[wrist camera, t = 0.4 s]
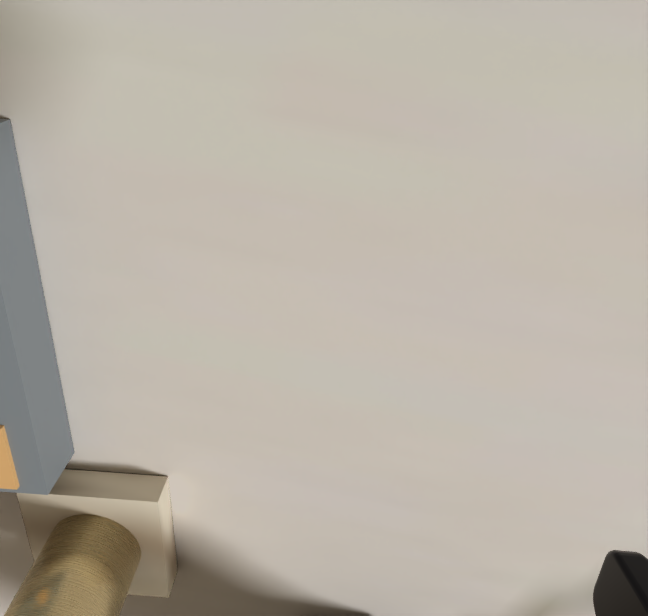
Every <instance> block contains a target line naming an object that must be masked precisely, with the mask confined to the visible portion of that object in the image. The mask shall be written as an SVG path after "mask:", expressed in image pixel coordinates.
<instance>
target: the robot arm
mask: <svg viewBox="0 0 648 616" xmlns="http://www.w3.org/2000/svg"><path fill="white" fill-rule="evenodd" d="M593 603H594V609H595V614H596V616H648V559H647V558H646V557H644V556H643V555H642V554H640V553H637V552H630V551H618V550H613V551H610V552H609V553H608V554H607V555H606V557H605V560H604V563H603V565H602V568H601V571H600V574H599V576H598V579H597V582H596V584H595V587H594V592H593Z"/></svg>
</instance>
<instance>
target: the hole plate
mask: <svg viewBox="0 0 648 616" xmlns="http://www.w3.org/2000/svg"><path fill="white" fill-rule="evenodd" d="M73 454H74V448H73V443H72V438H71V432H70V427H69V422H68V417H67V412H66V407H65V401H64V396H63V391H62V386H61V381H60V376H59V370H58V365H57V360H56V355H55V350H54V344H53V339H52V334H51V329H50V324H49V319H48V313H47V308H46V303H45V298H44V293H43V288H42V282H41V277H40V272H39V267H38V262H37V256H36V251H35V246H34V241H33V236H32V231H31V225H30V220H29V215H28V210H27V205H26V199H25V194H24V189H23V184H22V179H21V174H20V168H19V163H18V158H17V153H16V148H15V143H14V137H13V132H12V127H11V122H10V119H0V492H14V493H27V494H41V495H48V494H49V493H50V491H51V490H52V488H53V486H54V485H55V483H56V481H57V480H58V478H59V477H60V475H61V473H62V472H63V470H64V468H65V467H66V465H67V464H68V462H69V460H70V459H71V457H72V455H73Z"/></svg>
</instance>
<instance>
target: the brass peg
mask: <svg viewBox="0 0 648 616" xmlns="http://www.w3.org/2000/svg"><path fill="white" fill-rule="evenodd" d="M140 560H141V548H140V545H139V543H138V541H137V539H136V538H135V536H134V535H133V534H132V533H131V532H130V531H129V530H128V529H127V528H125V527H124V526H122V525H121V524H119V523H117V522H116V521H114V520H111V519H109V518H106V517H102V516H98V515H91V514H80V515H73V516H70V517H67V518H65V519H63V520H61V521H60V522H59V523H58V524H56V526H55V527H54V528H53V530H52V532H51V534H50V535H49V537H48V539H47V541H46V542H45V544H44V546H43V548H42V550H41V551H40V553H39V555H38V557H37V558H36V560H35V562H34V564H33V565H32V567H31V569H30V571H29V572H28V574H27V576H26V578H25V579H24V581H23V583H22V585H21V586H20V588H19V590H18V592H17V593H16V595H15V597H14V599H13V600H12V602H11V604H10V606H9V608H8V609H7V611H6V613H5V615H4V616H119V614H120V611H121V609H122V606H123V604H124V601H125V599H126V596H127V593H128V591H129V588H130V586H131V583H132V580H133V578H134V575H135V573H136V570H137V568H138V565H139V562H140Z"/></svg>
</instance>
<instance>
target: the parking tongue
mask: <svg viewBox="0 0 648 616" xmlns="http://www.w3.org/2000/svg"><path fill="white" fill-rule="evenodd" d="M16 494H17V498H18V501H19V505H20V509H21V513H22V517H23V521H24V524H25V528H26V532H27V536H28V540H29V544H30V547H31V551H32V555H33V559H34V562H35V560H36V558H37V557H38V555H39V553H40V551H41V550H42V548H43V546H44V544H45V542H46V541H47V539H48V537H49V535H50V534H51V532H52V530H53V528H54V527H55V526H56V524H58V523H59V522H60V521H61V520H63V519H65V518H67V517H70V516H73V515H80V514H91V515H98V516H102V517H106V518H109V519H111V520H114V521H116V522H117V523H119V524H121V525H122V526H124V527H125V528H127V529H128V530H129V531H130V532H131V533H132V534H133V535H134V536H135V538H136V539H137V541H138V543H139V545H140V548H141V560H140V562H139V565H138V568H137V570H136V573H135V575H134V578H133V580H132V583H131V586H130V588H129V591H128V593H127V595H139V596H152V597H164V598H169V596H170V593H171V590H172V587H173V584H174V581H175V577H176V574H177V571H178V569H177V559H176V549H175V540H174V530H173V520H172V511H171V501H170V491H169V481H168V477H166V476H152V475H139V474H125V473H111V472H98V471H84V470H70V469H64V470H63V472H62V473H61V475H60V477H59V478H58V480H57V481H56V483H55V485H54V486H53V488H52V490H51V491H50V493H49V494H48V495H41V494H27V493H16Z"/></svg>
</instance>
